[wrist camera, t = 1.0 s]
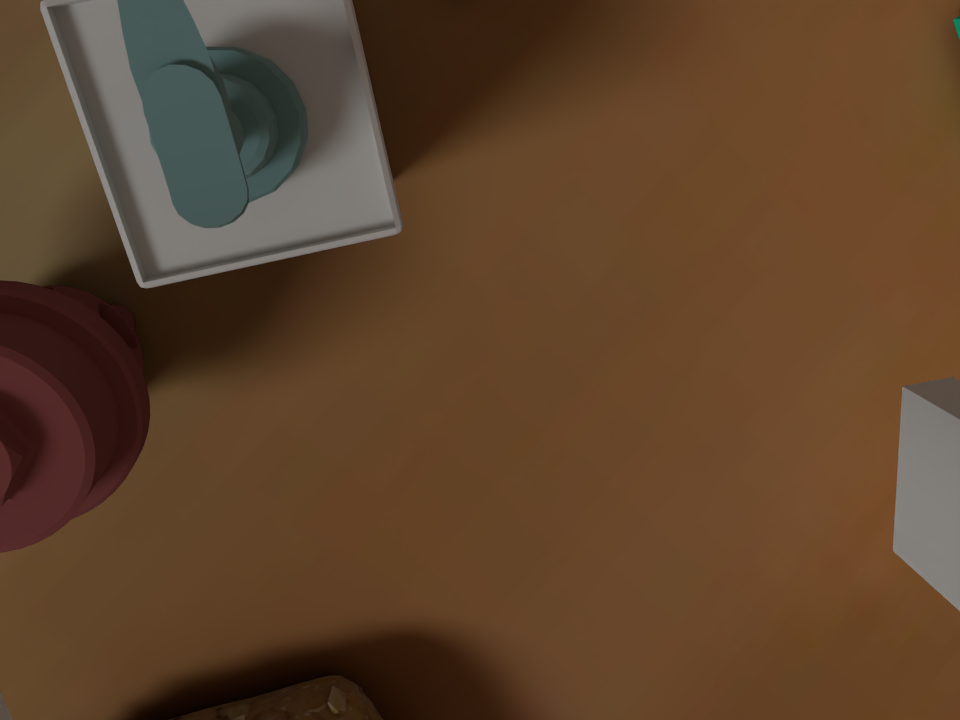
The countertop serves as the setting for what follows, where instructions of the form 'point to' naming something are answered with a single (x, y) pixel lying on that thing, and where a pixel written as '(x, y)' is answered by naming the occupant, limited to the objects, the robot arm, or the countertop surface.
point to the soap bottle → (227, 128)
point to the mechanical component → (64, 407)
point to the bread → (298, 704)
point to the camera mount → (957, 25)
